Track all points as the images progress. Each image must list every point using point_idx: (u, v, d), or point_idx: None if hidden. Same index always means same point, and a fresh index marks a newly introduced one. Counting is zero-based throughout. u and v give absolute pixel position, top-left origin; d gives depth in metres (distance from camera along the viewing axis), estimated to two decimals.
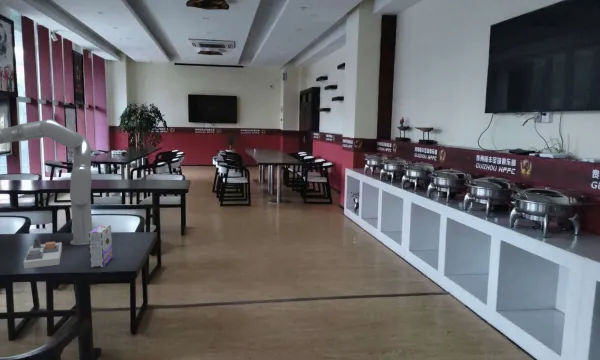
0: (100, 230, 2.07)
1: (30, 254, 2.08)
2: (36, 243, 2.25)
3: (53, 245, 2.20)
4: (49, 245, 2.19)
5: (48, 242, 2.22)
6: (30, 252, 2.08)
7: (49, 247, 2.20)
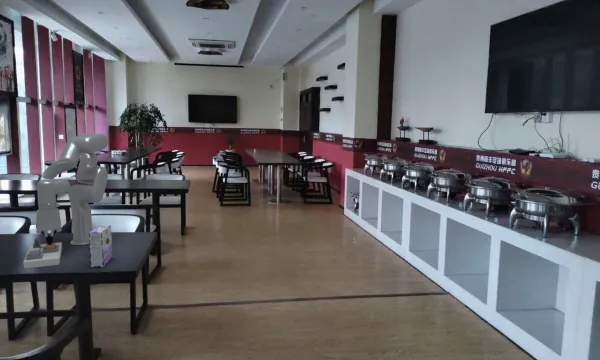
0: (100, 230, 2.07)
1: (30, 254, 2.08)
2: (36, 243, 2.25)
3: (53, 246, 2.20)
4: (49, 246, 2.19)
5: None
6: (30, 252, 2.08)
7: (49, 248, 2.20)
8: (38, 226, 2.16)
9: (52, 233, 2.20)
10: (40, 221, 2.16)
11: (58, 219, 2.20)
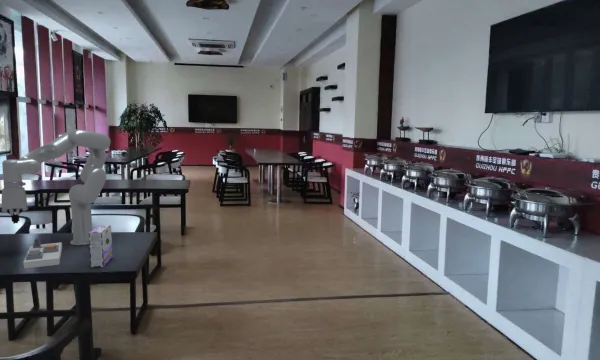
0: (100, 230, 2.07)
1: (30, 254, 2.08)
2: (36, 243, 2.25)
3: (53, 247, 2.20)
4: (49, 247, 2.20)
5: None
6: (30, 252, 2.08)
7: None
8: (3, 204, 2.17)
9: (18, 212, 2.21)
10: (5, 199, 2.17)
11: (24, 198, 2.20)
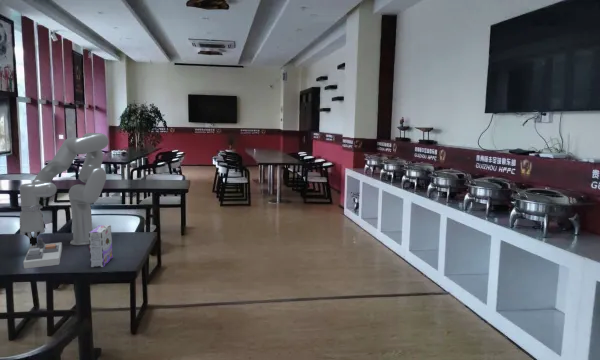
0: (100, 230, 2.07)
1: (30, 254, 2.08)
2: (40, 243, 2.26)
3: (53, 247, 2.20)
4: (49, 247, 2.20)
5: None
6: (30, 252, 2.08)
7: None
8: (21, 228, 2.22)
9: (35, 234, 2.25)
10: (23, 223, 2.22)
11: (41, 221, 2.25)
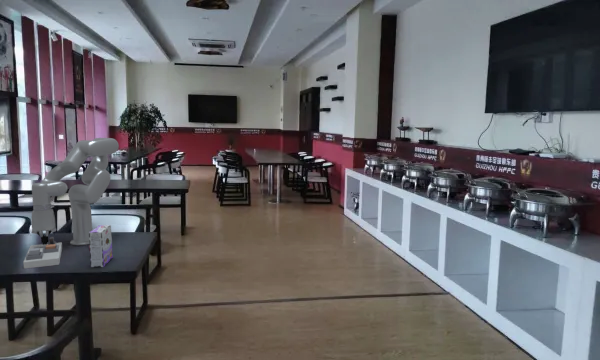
0: (100, 230, 2.07)
1: (30, 254, 2.08)
2: (51, 242, 2.28)
3: (53, 247, 2.20)
4: (49, 247, 2.20)
5: None
6: (30, 252, 2.08)
7: None
8: (33, 227, 2.24)
9: (47, 233, 2.27)
10: (35, 221, 2.24)
11: (52, 220, 2.27)
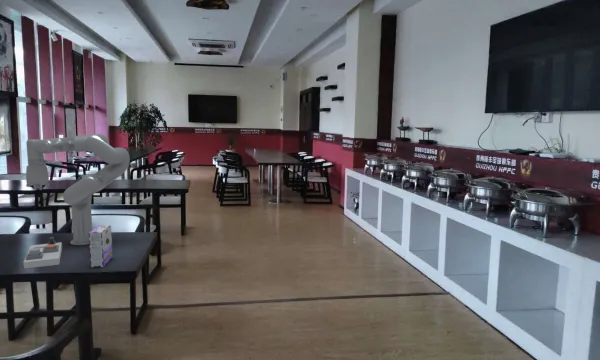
0: (100, 230, 2.07)
1: (30, 254, 2.08)
2: (51, 242, 2.28)
3: (53, 247, 2.20)
4: (49, 247, 2.20)
5: None
6: (30, 252, 2.08)
7: None
8: (28, 180, 2.38)
9: (41, 187, 2.42)
10: (29, 175, 2.38)
11: (46, 174, 2.42)
